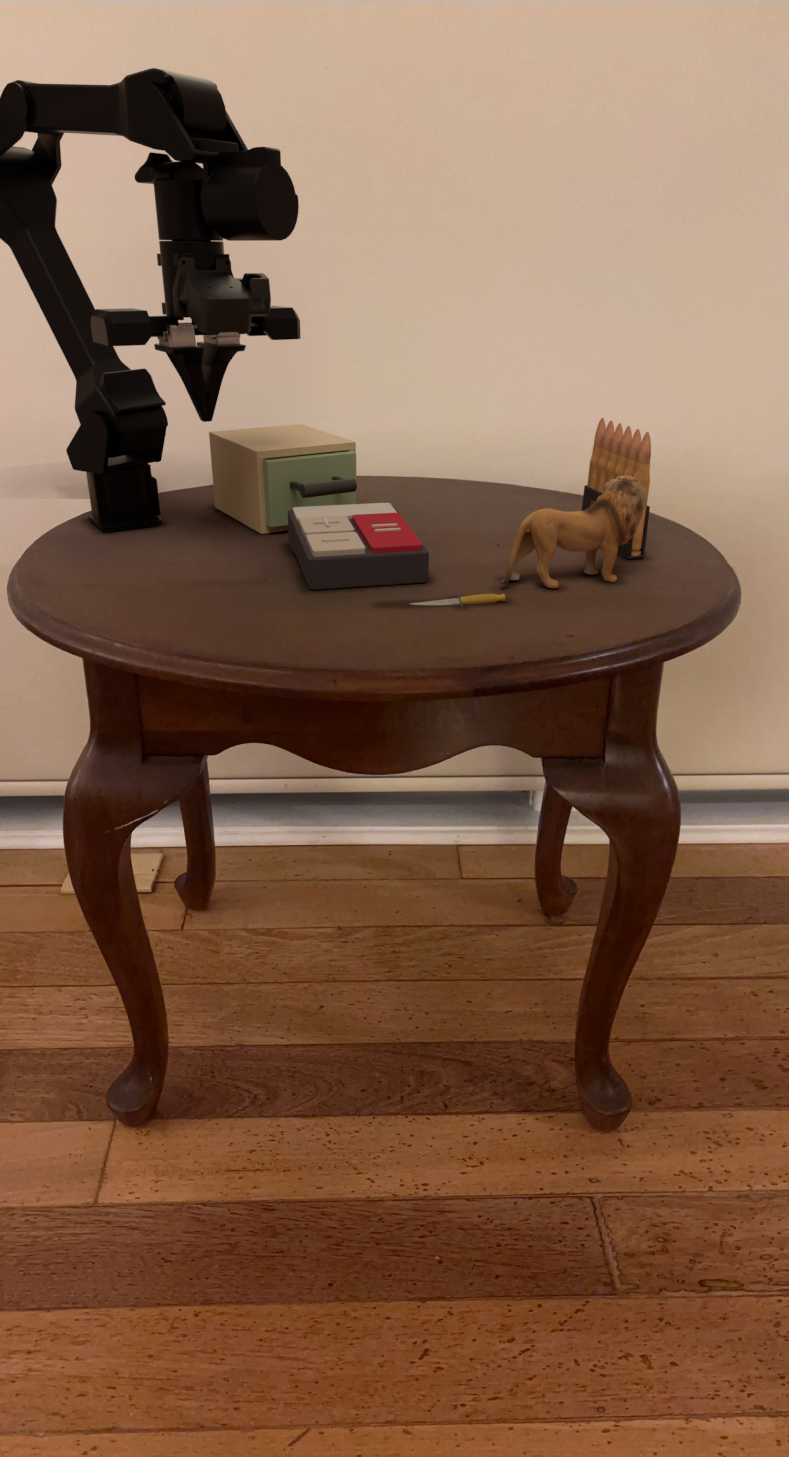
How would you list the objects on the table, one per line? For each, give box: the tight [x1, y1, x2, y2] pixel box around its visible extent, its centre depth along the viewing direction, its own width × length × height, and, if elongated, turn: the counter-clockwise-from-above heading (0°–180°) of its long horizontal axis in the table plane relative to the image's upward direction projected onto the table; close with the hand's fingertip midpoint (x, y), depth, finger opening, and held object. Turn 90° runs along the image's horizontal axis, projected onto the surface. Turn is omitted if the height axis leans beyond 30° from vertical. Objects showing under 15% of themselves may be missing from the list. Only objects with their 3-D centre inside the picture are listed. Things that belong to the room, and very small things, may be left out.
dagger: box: [409, 593, 508, 608], centre depth 79 cm, size 11×1×2 cm
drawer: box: [263, 451, 358, 527], centre depth 102 cm, size 17×10×7 cm, turn 31°
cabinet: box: [208, 423, 357, 535], centre depth 105 cm, size 14×12×9 cm
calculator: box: [287, 502, 430, 591], centre depth 89 cm, size 11×4×15 cm
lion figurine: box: [499, 476, 646, 589], centre depth 83 cm, size 15×5×9 cm, turn 116°
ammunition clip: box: [581, 417, 652, 560], centre depth 93 cm, size 11×2×12 cm, turn 17°
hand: (206, 420), depth 91 cm, fingers closed
